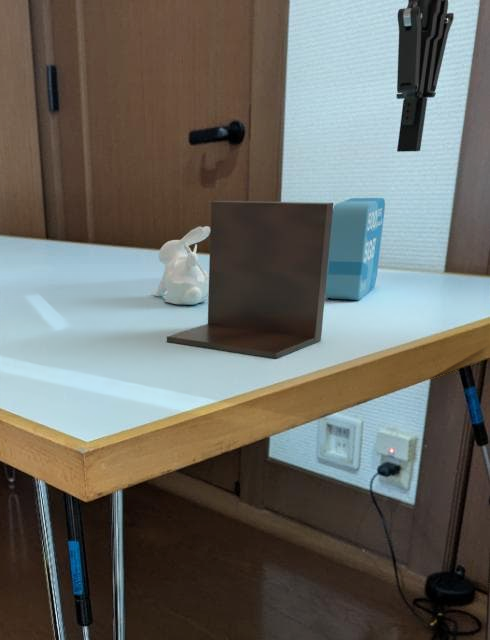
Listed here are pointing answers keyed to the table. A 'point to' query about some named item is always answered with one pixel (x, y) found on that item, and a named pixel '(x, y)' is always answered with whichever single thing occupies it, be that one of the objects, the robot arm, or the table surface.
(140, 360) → the table surface
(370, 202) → the data package
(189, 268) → the rabbit figurine
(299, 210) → the bookend
